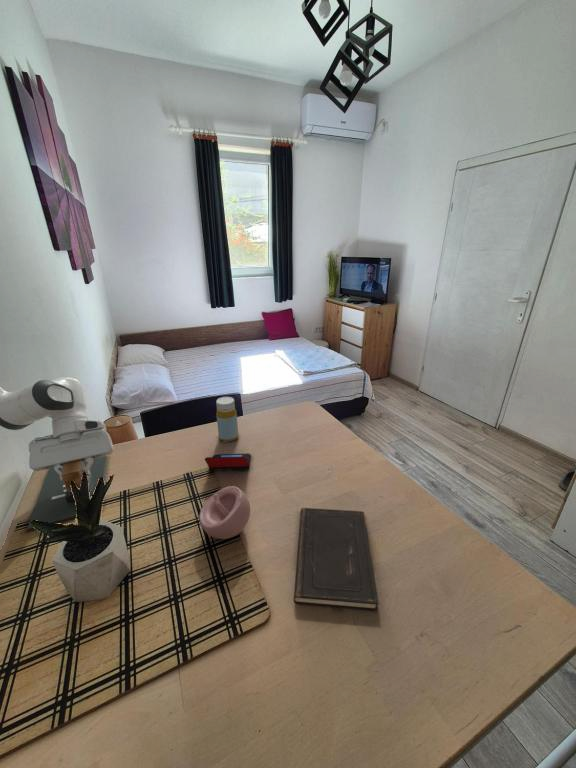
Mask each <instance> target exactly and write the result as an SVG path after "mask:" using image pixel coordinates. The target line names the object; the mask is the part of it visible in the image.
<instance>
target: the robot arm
mask: <svg viewBox="0 0 576 768" xmlns="http://www.w3.org/2000/svg"><path fill="white" fill-rule="evenodd" d="M86 410H87V401H86V393H85V390H84V388H83V386H82V383H81V382H80V381H79V380H78V379H76V378H74V377H68V376H62V377H57V378H55V379H53V380H50V379H49V380H48V379H41V380H38V381H35V382H32V383H30V384H28V385H25V386H24V387H22V388H20V389H17V390H15V391H7V390H5V389H3V388H2V387H1V386H0V427H2V428H4V429H7V430H10V431H20V430H23V429H25V428H27V427H29V426H30V425H32V424H34V423H36V422H38V421H40V420H42V419H45V418H50V419H52V420H51V428H52V434H49V435H45V436H38V437H35V438H34V439H33V440H31V441H30V442H29V443H28V452H29V458H28V459H29V460H28V467H29V469H31V470H32V471H34V472H41V471H45V470H49V469H50V468H54V469H55V471H56V472H57V473H58V474H59V475H60V481H62V482H63V478H62V476H61V474H62V471H61V470H62V469H63V465H64V464H65V463H66V462H70V461H75V460H79V459H83V461H85V460H86V462H87V463H88V464H87V466H86V468H85V469H82V472H84V471H85V472H86V473H87V475H90V468H91V466H92V464H93V459H94V458H98V457H103V456H107V457H108V456H110V455H112V454H113V453H114V451H115V447H114V443H113V441H112V437H111V435H110V434H109V432H108V431H107V426H106V424H105V423H104V422H102V420H90V419H88V415H87V412H86Z"/></svg>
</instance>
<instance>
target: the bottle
mask: <svg viewBox="0 0 576 768" xmlns="http://www.w3.org/2000/svg"><path fill="white" fill-rule="evenodd" d="M215 405H216V412H215V415H216V424H217V433H218V438H219V440H220V441H221V442H224V443H231V442H234V441H235V440H237V439H238V438H239V427H238V415H237V409H236V406H235V399H234V397H232V396H222V397H221V396H220V397H219V398H217V399H216V401H215Z"/></svg>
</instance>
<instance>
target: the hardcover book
mask: <svg viewBox="0 0 576 768" xmlns="http://www.w3.org/2000/svg"><path fill="white" fill-rule="evenodd" d="M297 539H298V540H297V551H296V563H295V577H294V589H293V590H294V591H293V603H294V604H296V605H302V606H303V605H304V606H315V607H325V608H326V607H327V608H337V609H348V610H349V609H350V610H359V611H371V612H378V605H379V603H380V602H379V598H378V592H377V591H378V590H377V586H376V585H377V584H376V579H375V572H374V566H373V559H372V554H371V547H370V542H369V534H368V528H367V522H366V516H365V511H361V510H347V509H345V510H344V509H329V508H313V507H312V508H311V507H301V508H300V513H299V527H298V537H297Z"/></svg>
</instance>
